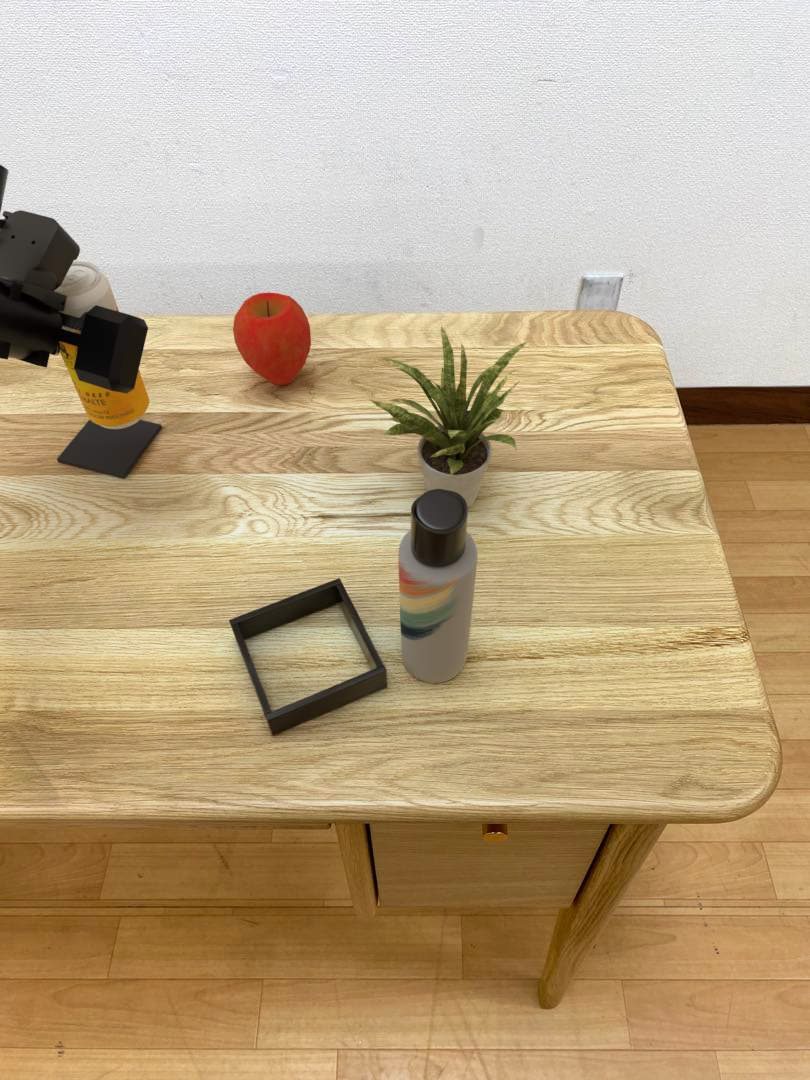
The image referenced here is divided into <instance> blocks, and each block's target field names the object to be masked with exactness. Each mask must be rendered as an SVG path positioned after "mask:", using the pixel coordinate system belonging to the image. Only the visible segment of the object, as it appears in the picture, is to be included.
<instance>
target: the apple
mask: <svg viewBox="0 0 810 1080" xmlns="http://www.w3.org/2000/svg"><path fill="white" fill-rule="evenodd" d="M232 333H233V339H234V343H235V346H236V348H237V350H238V352H239V354H240V355H241V358H242V359H243V361H244V362H245V364H246V365H247V366H248V367H249V368H250V369H251V370H252V371H253V372H254V373H256V374H257V375H259V376H260V377H262V378H263V379H264V380H266V381H267V382H270V383H271V384H273V385H275V386H285V385H289V384H291V383H292V382H293V381H294V380H295V379H296V377H297V376H298V374H299V373H300V372H301V371H302V369H303V368H304V366H305V365H306V361H307V359H308V357H309V354H310V351H311V346H312V337H311V336H312V335H311V325H310V321H309V319H308V316H307V315H306V313H305V310H304V308H303V307H302V306H301V304H300V303H298V302H297V301H296V300H295V299H294V298H293V297H291V296H290V295H287V294H282V293H278V292H260V293H257V294H253V295H251V296H250V297H248V298H247V299H245V300H244V301H243V303H242V304H241V306H240V308H239V309H238V310H237V312H236V313H235V315H234V318H233V326H232Z"/></svg>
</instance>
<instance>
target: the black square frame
mask: <svg viewBox="0 0 810 1080" xmlns="http://www.w3.org/2000/svg"><path fill="white" fill-rule="evenodd" d="M336 605H339V608H340V610H341V612H342V614H343V615H344V618H345V619H346V621H347V624H348V625H349V627H350V629H351V632H352V634H353V636H354V638H355V640H356V642H357V645H358V646H359V648H360V650H361V652H362V654H363V656H364V658H365V660H366V662H367V664H368V666H369V669H370V670H368V671H366V672H363V673H361V674H359V675H356V676H354V677H351V678H349V679H347V680H344V681H342V682H339V683H337V684H336V685H332V686H330V687H327V688H325V689H323V690H320V691H318V692H316V693H313V694H311V695H308V696H306V697H303V698H302V699H299V700H296V701H294V702H292V703H290V704H287V705H284V706H281V707H280V708H277V709H275V710H272V707H271V705H270V702H269V699H268V698H267V695H266V692H265V690H264V687H263V685H262V681H261V679H260V677H259V674H258V671H257V670H256V666H255V663H254V662H253V661H254V660H253V658H252V656H251V654H250V651H249V648H248V646H247V644H246V640H249V639H251V638H253V637H256V636H258V635H261V634H263V633H266V632H268V631H271V630H275V629H277V628H279V627H281V626H285V625H287V624H289V623H292V622H294V621H297V620H300V619H302V618H305V617H307V616H310V615H312V614H315V613H318V612H320V611H322V610H326V609H328V608H332V607H333V606H336ZM228 622H229V625H230V628H231V630H232V633H233V636H234V639H235V642H236V644H237V646H238V649H239V652H240V654H241V657H242V659H243V662H244V665H245V667H246V670H247V672H248V675H249V679H250V681H251V683H252V686H253V689H254V691H255V694H256V696H257V699H258V702H259V704H260V707H261V710H262V712H263V714H264V717H265V720H266V722H267V725H268V728H269V731H270V733H271V735H272V737H275V736H277V735H280V734H282V733H284V732H286V731H289V730H290V729H294V728H295V727H298V726H300V725H302V724H305V723H307V722H310V721H312V720H315V719H317V718H319V717H321V716H324V715H326V714H328V713H331V712H333V711H336V710H338V709H341V708H343V707H345V706H347V705H350V704H352V703H354V702H356V701H357V702H358V701H359V700H362V699H364V698H366V697H368V696H369V697H370V696H371V695H374V694H376V693H378V692H380V691H382V690H383V691H384V690H385V689H388V674H387V673H388V672H387V668H386V667H385V665H384V663H383V661H382V659H381V657H380V654H379V653H378V651H377V649H376V646H375V644H374V643H373V641H372V639H371V636H370V635H369V633H368V631H367V629H366V627H365V625H364V623H363V621H362V619H361V617H360V616H359V613H358V611H357V609H356V607H355V605H354V604H353V601H352V600H351V597H350V596H349V593H348V592H347V590H346V588H345V585H344V584H343V582H342V580H341V578H340V577H339V578H336V579H333V580H331V581H328V582H326V583H322V584H320V585H317V586H315V587H312V588H309V589H307V590H304V591H302V592H300V593H296V594H294V595H290V596H288V597H286V598H283V599H281V600H278V601H275V602H272V603H270V604H267V605H265V606H262V607H260V608H257V609H254V610H251V611H249V612H246V613H244V614H241V615H239V616H236V617H233V618H231V619H229V620H228Z"/></svg>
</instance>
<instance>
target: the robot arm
mask: <svg viewBox="0 0 810 1080" xmlns="http://www.w3.org/2000/svg"><path fill="white" fill-rule="evenodd" d="M8 177H9V169H8V168H6V167H5V166H3V165H2V164H0V213H2V214H1V215H2V216H3V217H4V218H0V359H3V360H9V358H10V359H15V360H18V361H22V362H25V363H28V364H31V365H34V366H38V367H41V368H46V369H47V368H48V365H49V361H50V360H49V359H50V356H59V355H60V344H59V341H60V342H64V343H67V344H70V345H74V346H77V355H76V360H75V365H74V369H75V372H76V374H77V376H78V379H79V381H83V382H86V383H89V384H92V385H95V386H98V387H102V388H105V389H108V390H111V391H115V392H121V393H126V394H127V393H129V392H130V391H132V390H133V389H134V388H135V383H136V379H137V375H138V370H139V371H140V365H141V361H142V357H143V353H144V349H145V344H146V340H147V335H148V332H149V331H148V330H149V327H148V324H147V323H146V322H147V321H146V320H145V319H144V318H140V317H138V316H135V315H133V314H129V313H125V312H122V311H119V312H118V311H115V310H111V309H108V308H104V307H101V306H97V305H95V306H94V307H93V308H92V309H91V310H89V311H88V312H84V313H83V314H82V315H81V317H75V316H71V315H68V314H64V313H61V312H59V311H64V308H65V303H66V299H67V296H66V295H63V294H60V293H57V292H54V291H55V290H56V289H57V288H59V287H60V285H61V284H62V282H63V280H64V278H65V276H66V274H67V272H68V271H69V269H70V267H71V265H72V263H73V261H77V259H78V257H79V255H80V254H81V247H80V245H79V244H78V243H77V242H76V241H75V240H74V238H72V236H71V235H70V234H69V233H68V232H67V231H66V229H64V228H63V227H62V226H61V224H59V221H57V220H56V219H55V218H53V217H51V216H50V217H49V216H45V215H42V214H37V213H34V212H30V211H26V210H19V209H18V210H15V211H13V212H10V211H6V210H3V212H1V211H2V207H3V202H4V196H5V191H6V186H7V181H8ZM62 326H65V327H68V328H72V329H75V330H78V331H81V333H80V334H78V333H74V332H71V331H68V330H64V329H62Z"/></svg>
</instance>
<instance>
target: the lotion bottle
mask: <svg viewBox="0 0 810 1080" xmlns="http://www.w3.org/2000/svg"><path fill="white" fill-rule="evenodd" d="M468 519H469V508H468V506H467V503H466V501H465V499H464V498H463V497H462V496H461V495H460V494H458V493H456V492H454V491H450V490H444V489H433V490H429V491H426V492H424V493H423V494H421V495H420V496H418V497H417V498H416V499H415V500H414V501H413V502H412V504H411V507H410V529H409V530H408V531H407V532H406V533H405V534H404V536H403V537H402V539H401V541H400V543H399V547H398V554H397V555H398V557H397V558H398V560H397V562H398V593H399V595H398V596H399V624H400V626H399V628H400V650H401V652H400V653H401V659H402V662H403V664H404V666H405V669H406V670H407V671H408V673H409V674H411V675H412V676H413V677H414V678H416V679H418V680H420V681H421V682H425V683H428V684H429V683H430V684H440V683H446V682H448V681H450V680H452V679H454V678H455V677H456V676H457V675H459V673H460V672H461V671H462V670H463V668H464V667H465V665H466V661H467V657H468V651H469V643H470V634H471V633H470V632H471V626H472V624H471V623H472V616H473V607H474V597H475V596H474V595H475V586H476V577H477V569H478V568H477V567H478V547H477V544H476V542H475V540H474V538H473V537H472V535H471V534H470V533H469V532H468Z"/></svg>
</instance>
